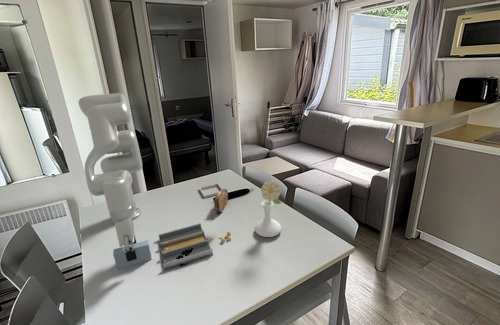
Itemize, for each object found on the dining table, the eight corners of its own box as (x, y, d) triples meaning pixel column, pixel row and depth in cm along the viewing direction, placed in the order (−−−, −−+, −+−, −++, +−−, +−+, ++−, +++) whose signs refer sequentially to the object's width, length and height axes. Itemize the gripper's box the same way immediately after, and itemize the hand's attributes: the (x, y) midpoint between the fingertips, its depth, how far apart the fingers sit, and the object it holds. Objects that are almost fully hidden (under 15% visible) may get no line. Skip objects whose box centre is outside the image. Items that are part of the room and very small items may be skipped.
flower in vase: (249, 232, 114) (245, 180, 105) (266, 221, 122) (264, 170, 113) (273, 245, 106) (271, 188, 97) (289, 231, 113) (289, 178, 105)
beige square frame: (199, 189, 156) (199, 187, 156) (218, 185, 160) (218, 183, 160) (204, 198, 146) (203, 195, 145) (224, 193, 150) (224, 190, 149)
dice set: (230, 234, 115) (229, 231, 114) (233, 241, 110) (233, 237, 109) (218, 237, 113) (218, 233, 113) (221, 244, 109) (221, 240, 108)
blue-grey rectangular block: (118, 264, 100) (113, 249, 98) (151, 254, 105) (147, 240, 102) (117, 269, 98) (113, 254, 95) (151, 259, 102) (148, 244, 100)
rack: (159, 239, 113) (158, 234, 112) (201, 227, 120) (200, 223, 119) (164, 270, 96) (163, 264, 95) (212, 255, 102) (212, 249, 101)
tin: (220, 215, 129) (218, 200, 126) (214, 215, 129) (212, 199, 126) (229, 200, 142) (227, 186, 139) (223, 200, 143) (221, 186, 140)
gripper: (111, 203, 99) (122, 242, 105) (107, 226, 84) (120, 270, 90) (133, 199, 102) (142, 236, 108) (133, 220, 87) (143, 263, 93)
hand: (132, 251), depth 99 cm, fingers open, 9 cm apart
